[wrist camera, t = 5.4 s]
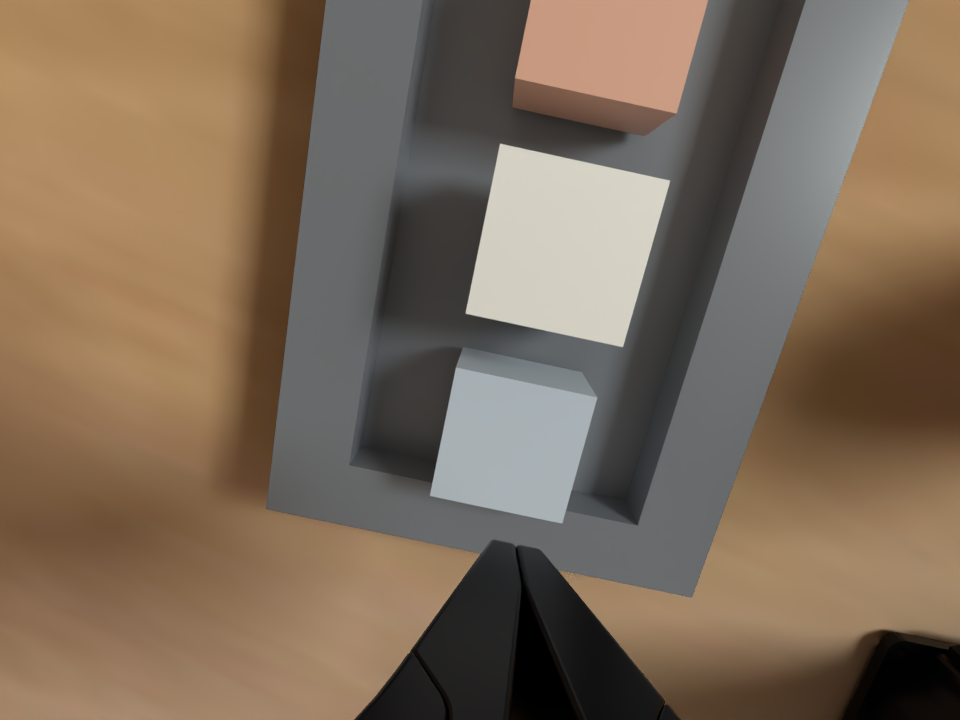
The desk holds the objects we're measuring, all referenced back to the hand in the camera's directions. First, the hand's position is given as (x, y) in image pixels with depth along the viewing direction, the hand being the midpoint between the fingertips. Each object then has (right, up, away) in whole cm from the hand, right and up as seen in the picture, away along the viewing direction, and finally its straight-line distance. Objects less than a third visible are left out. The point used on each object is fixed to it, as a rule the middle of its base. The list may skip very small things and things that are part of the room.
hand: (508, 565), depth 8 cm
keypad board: (+2, +10, +7) cm, 12 cm away
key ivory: (+2, +7, +5) cm, 9 cm away
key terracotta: (+3, +12, +5) cm, 13 cm away
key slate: (0, +2, +8) cm, 8 cm away
